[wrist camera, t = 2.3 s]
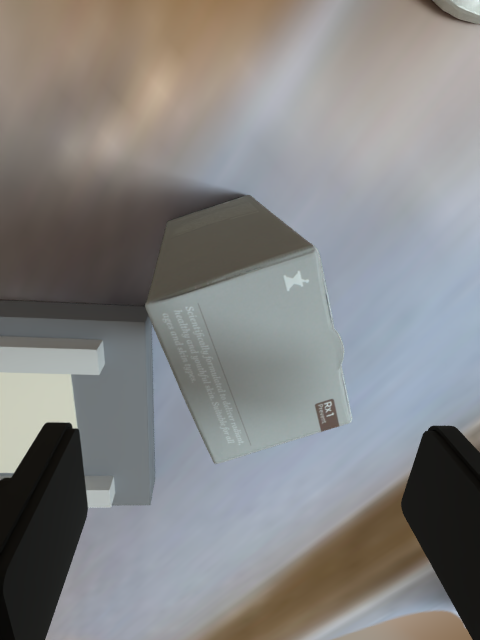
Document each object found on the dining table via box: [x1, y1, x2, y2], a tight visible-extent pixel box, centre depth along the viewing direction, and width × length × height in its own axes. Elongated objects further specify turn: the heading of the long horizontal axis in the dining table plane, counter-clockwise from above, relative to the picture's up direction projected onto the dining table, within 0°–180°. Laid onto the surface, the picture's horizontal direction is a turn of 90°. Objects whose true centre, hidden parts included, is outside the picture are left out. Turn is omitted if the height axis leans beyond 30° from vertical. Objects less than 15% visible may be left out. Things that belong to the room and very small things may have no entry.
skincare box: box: [145, 195, 352, 464], centre depth 21 cm, size 8×7×16 cm
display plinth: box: [0, 300, 155, 508], centre depth 30 cm, size 20×18×4 cm
